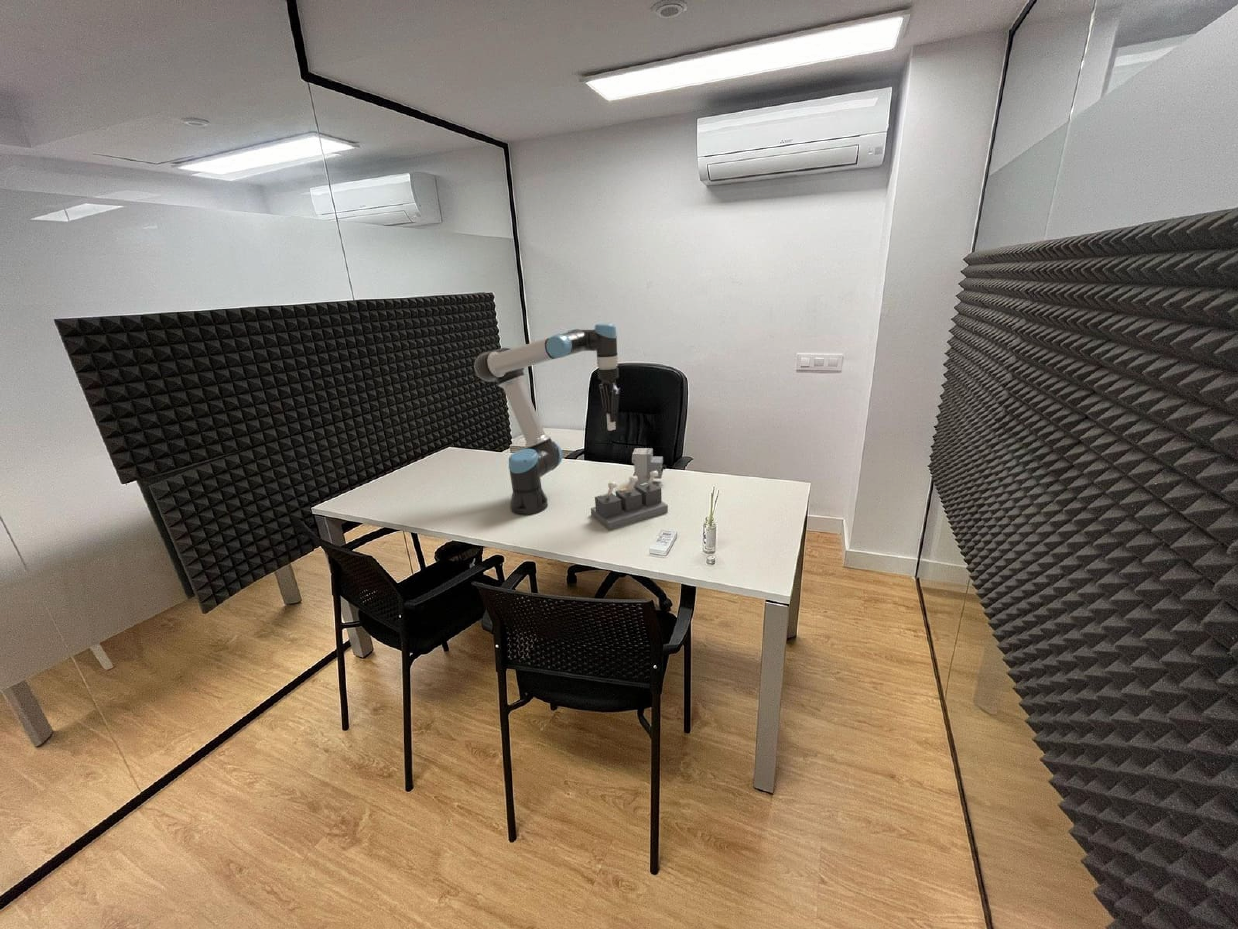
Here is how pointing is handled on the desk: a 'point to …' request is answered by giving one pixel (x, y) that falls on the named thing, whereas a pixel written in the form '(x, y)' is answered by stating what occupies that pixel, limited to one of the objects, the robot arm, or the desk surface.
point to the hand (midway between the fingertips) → (611, 429)
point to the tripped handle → (631, 483)
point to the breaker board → (630, 515)
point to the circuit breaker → (646, 465)
